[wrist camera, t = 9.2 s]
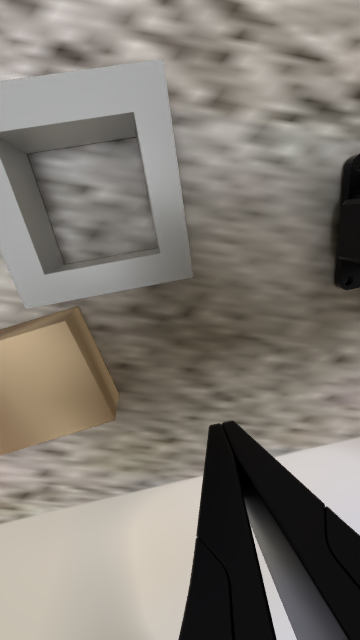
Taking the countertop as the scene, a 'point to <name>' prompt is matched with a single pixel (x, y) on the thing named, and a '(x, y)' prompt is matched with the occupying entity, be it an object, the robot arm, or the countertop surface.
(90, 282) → the socket block
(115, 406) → the board
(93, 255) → the countertop surface
